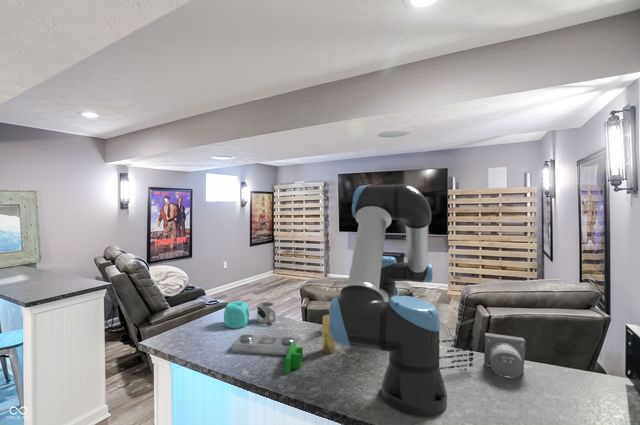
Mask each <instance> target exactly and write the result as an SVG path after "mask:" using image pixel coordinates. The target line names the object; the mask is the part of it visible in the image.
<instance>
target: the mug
mask: <svg viewBox="0 0 640 425" xmlns="http://www.w3.org/2000/svg"><path fill="white" fill-rule="evenodd" d="M256 308H257V312H256V313H257V314H256V315H257V319H256V320H257V323H259V324H262V325H263V324H264V325H266V324H272V323H275V322H276V319H277V312H276V310H275V304H274V303H273V302H270V301H269V302H268V301H264V302H260V303H258V304H257V306H256Z"/></svg>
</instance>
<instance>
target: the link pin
mask: <svg viewBox="0 0 640 425" xmlns="http://www.w3.org/2000/svg"><path fill="white" fill-rule="evenodd" d="M321 327H322V329H321V330H322V333H321V334H322V342H321V343H322V344H321V345H322V346H321V347H322V349H321V350H322V353H324V354H325V355H332V354H334V353H336V342H335V341H334V340H333V338H332V335H331V330H330V320H329V314H325V315H322V326H321Z"/></svg>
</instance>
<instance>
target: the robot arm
mask: <svg viewBox="0 0 640 425" xmlns="http://www.w3.org/2000/svg"><path fill="white" fill-rule="evenodd" d="M351 213H352V217H353V218H354V219H355V221H356V223H357V224H358V227H357V232H356V236H355V237H356V238H355V243H354V247H353V248H354V249H353V252H352V253H353V254H352V258H351V266H350V270H349V276H348V282H347V285H345V286H343V287H342V288H341V290H340V293H339V296H338V295H337V296H333V297H332V298H331V300H330V304H329V305H328V313H329V314H328V315H329V320H330V330H331V335H332V338H333V340H334V341H335V344H338V345H341V346H347V347H349V348H360V349H367V350H374V351H378V352H379V351H380V352H388V353H389V358H388V365H387V366H386V370H385V374H384V375H383V378H382V381H381V396H382V398H383V400H384V401H385V403H386V404H387V405H388V406H390V407H391V408H392V409H393V410H396V411H398V412H400V413H403V414H407V415H410V416H415V417H432V416H436V415H440V414H441V413H443V412H444V411H445V410H446V408H447V406H448V392H447V391H448V390H447V389H446V384H445V382H444V379H443V376H442V373H441V369H439V368H440V359H439V357H440V343H439V340H440V332H441V329H442V328H441V323H440V311H439V310H438V308H437V307H436V306H435V305H434V304H432V303H431V302H428V301H426V300H424V299H422V298H418V297H414V296H409V295H400V290H399V287H398V286H397V285H396V281H400V282H413V283H432V282H433V274H434V273H433V272H434V271H433V264H430V263H428V261H429V258H428V257H429V255H428V254H429V252H428V251H429V250H428V249H429V225H430V224H431V222H432V209H431V205H430V204H429V201H428V200H427V198H426V197H425V196H424V195H423V194H422V192H420V191H419V189H417V188H415V187H414V186H411V185H408V184H404V183H401V184H366V185H359V186H358V187H357V188H356V189H355V190H354V192H353V197H352V205H351ZM392 220H395V221H396V220H401V221H402V223H403V225H404V226H405V238H406V255H407V256H406V257H407V262H405V261H404V262H400V261H397V260H396V258H395V257H394V256H390V255H389V256H388V255H384V247H385V238H386V237H385V236H386V230H387V228H388V227H389V226H391V224H392ZM383 255H384V256H383Z"/></svg>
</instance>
